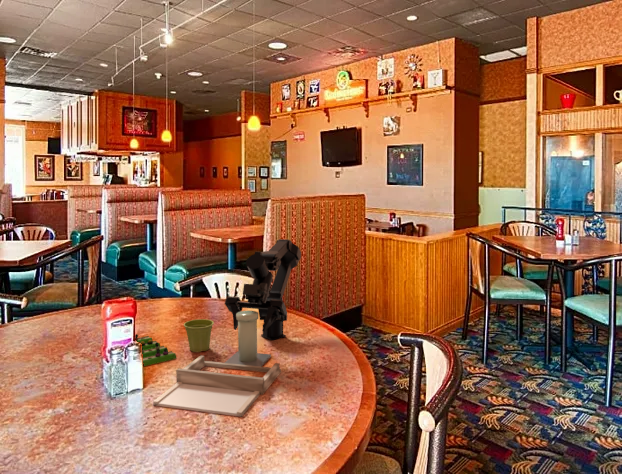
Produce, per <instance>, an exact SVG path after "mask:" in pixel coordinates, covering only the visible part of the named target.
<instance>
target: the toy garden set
mask: <svg viewBox="0 0 622 474" xmlns="http://www.w3.org/2000/svg"><path fill="white" fill-rule="evenodd" d="M134 338H135V340H136V341H137V342H140V343H141V344H142V354H143V363H144V366H143V367H146V366H147V367H148V366H151V365H154V364H156V365H157V364H159V363H164V362H167V361H172V360H175V359H177V354H176V353H175V352H174V351H172V350H171V351H169V349H168V347H167V346H166V347H165V346H164V345H162V346H161V343H160V342H158V340H153V338H152V337H150V336H149V335H147V336H141V337H139V334H138V333H136V334H135V335H134Z"/></svg>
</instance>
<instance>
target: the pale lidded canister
mask: <svg viewBox="0 0 622 474" xmlns="http://www.w3.org/2000/svg"><path fill="white" fill-rule="evenodd" d="M236 320H238V327H237V333H238V336H237V338H238V339H237V342H238V344H237V345H238V346H237V347H238V348H237V349H238V354H239V361H242V362H252V361H255V360H257V353H258V320H259V311H255V310H242V311H241V312H238V313H236Z"/></svg>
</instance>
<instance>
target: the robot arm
mask: <svg viewBox="0 0 622 474" xmlns="http://www.w3.org/2000/svg"><path fill="white" fill-rule="evenodd" d="M275 242H276V243H275V244H274V245H273V246H272V247H271V248H270V249H269V250H266V251H254V254H251V255H250V256H249V257H248V258H247V259H246V260H245V265H246V267H247V269H248V272H249V273H250V275H251V277H252V278H253V281H252V283H244V284H243V288H242V295H243V296H245V297H244V298H245V300H247V301H242V300H241V299H240V296H227V297H226V298H225V300H224V305H225V306H226V308H227V310H228V312H231V314H232V323H233V329H234V331H236V330H238V320H236V313H238V312H241V311H243V309H256V310H258V318H259V321H263V324H262V334H260V336H261V337H263V338H265V339H267V340H269V341H270V340H271V341H274V340H278V339H282V338H286V337H287V335H286V334H285V333H284V322H287V321H288V311H287V307H286V305H285V302H284V299H283V296H284V294H285V291H286V288H287V285H288V281H289V277H290V274H291V271H292V270H293V269H294V268H296V267H297V266H298V265H299V262H300V260H301V259H302V251H301V249H300V247H299V246H297V245H296V244H295V243H293V241H292V240H291V239H285V238H284V239H281V238H280V239H277V240H276V241H275ZM272 272H276V273H275V276H274V275H273V274H272ZM273 277H274V278H273Z"/></svg>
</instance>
